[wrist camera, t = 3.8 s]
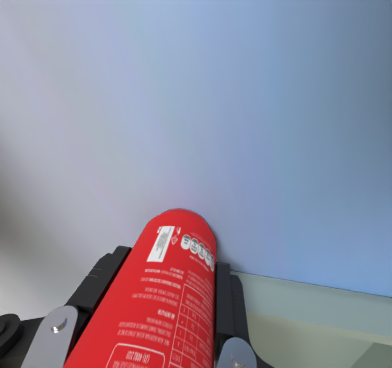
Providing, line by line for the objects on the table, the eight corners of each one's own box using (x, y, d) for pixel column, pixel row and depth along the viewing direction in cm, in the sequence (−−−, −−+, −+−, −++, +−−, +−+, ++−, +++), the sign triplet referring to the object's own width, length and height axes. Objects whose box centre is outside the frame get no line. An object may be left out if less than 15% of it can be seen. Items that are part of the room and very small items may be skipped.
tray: (227, 270, 15) (229, 308, 12) (411, 301, 14) (458, 349, 11) (206, 357, 21) (204, 395, 18) (334, 382, 20) (353, 427, 17)
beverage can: (228, 247, 14) (262, 804, 3) (171, 266, 15) (51, 676, 4) (195, 192, 12) (-14, 993, 1) (135, 218, 14) (-200, 685, 3)
